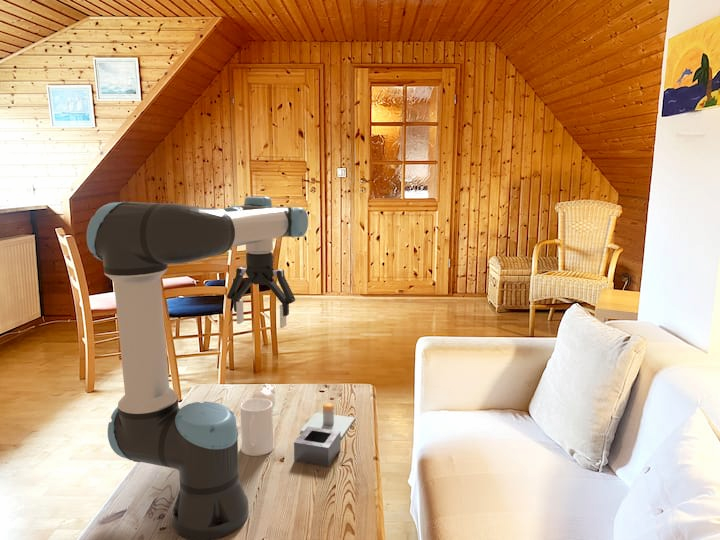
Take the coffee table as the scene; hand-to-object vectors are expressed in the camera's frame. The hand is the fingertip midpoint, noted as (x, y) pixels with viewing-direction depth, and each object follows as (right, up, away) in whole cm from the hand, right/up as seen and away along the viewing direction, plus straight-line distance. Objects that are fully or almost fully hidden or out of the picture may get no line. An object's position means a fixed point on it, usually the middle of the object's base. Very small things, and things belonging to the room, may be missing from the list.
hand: (261, 324), depth 157 cm
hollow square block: (+18, -31, -19) cm, 41 cm away
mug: (+2, -31, -17) cm, 35 cm away
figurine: (-1, -26, +8) cm, 28 cm away
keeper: (+20, -28, -3) cm, 34 cm away
